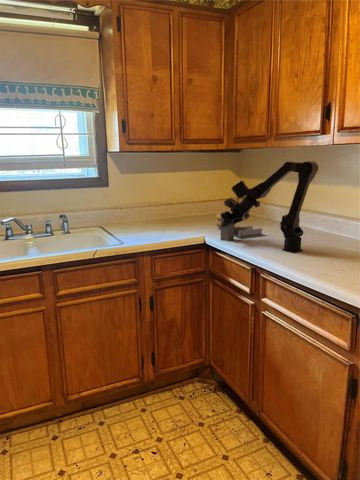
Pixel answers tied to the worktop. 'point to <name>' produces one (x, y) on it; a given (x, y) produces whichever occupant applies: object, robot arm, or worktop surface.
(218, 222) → the pot
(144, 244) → the worktop surface
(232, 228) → the gray rectangular block
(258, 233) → the bracket
